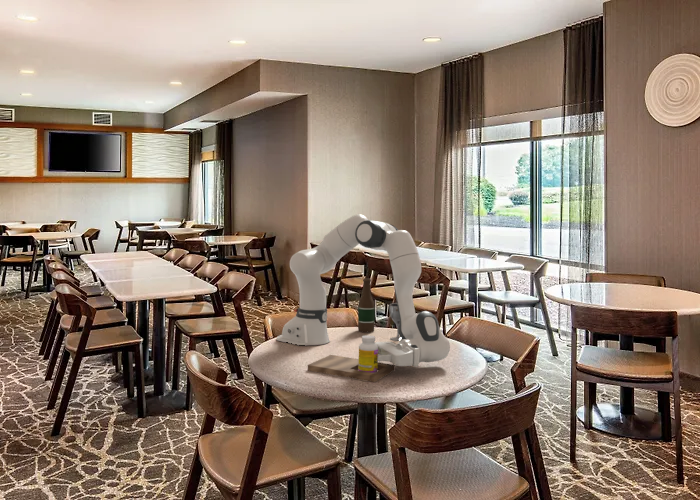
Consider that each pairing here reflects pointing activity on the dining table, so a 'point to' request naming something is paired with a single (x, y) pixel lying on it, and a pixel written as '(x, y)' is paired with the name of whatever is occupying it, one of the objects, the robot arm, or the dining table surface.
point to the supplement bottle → (368, 354)
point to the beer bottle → (366, 309)
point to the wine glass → (395, 319)
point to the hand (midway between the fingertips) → (371, 354)
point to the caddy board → (349, 368)
